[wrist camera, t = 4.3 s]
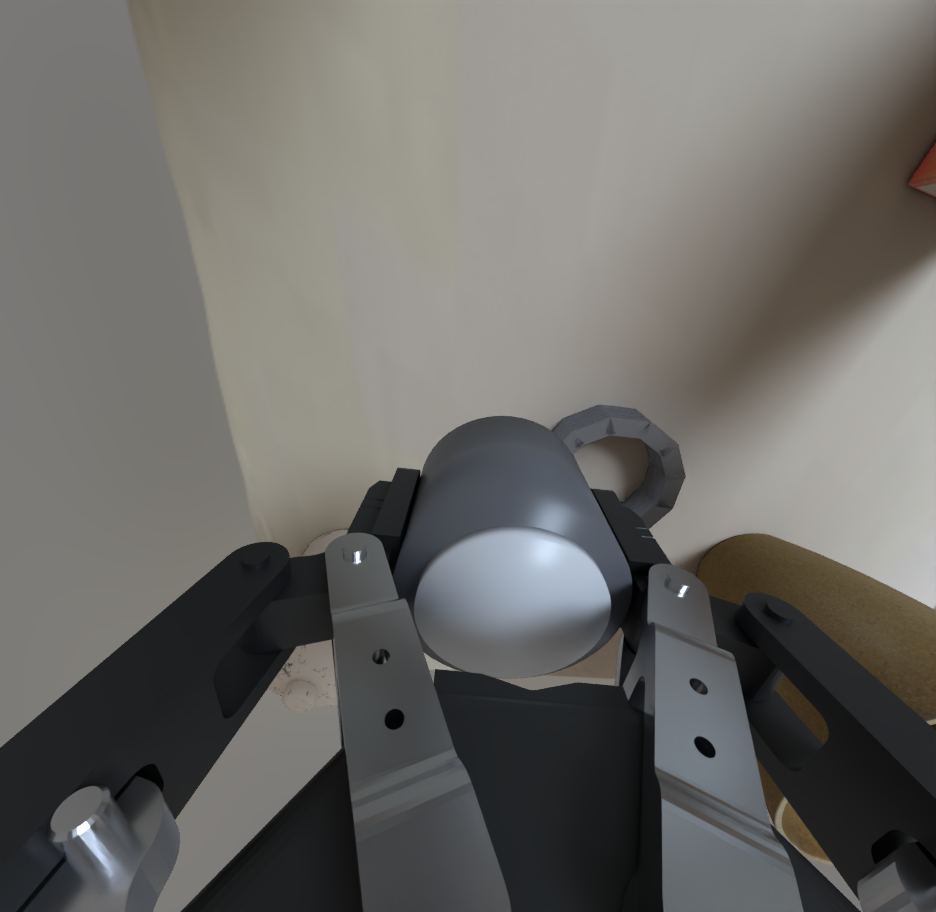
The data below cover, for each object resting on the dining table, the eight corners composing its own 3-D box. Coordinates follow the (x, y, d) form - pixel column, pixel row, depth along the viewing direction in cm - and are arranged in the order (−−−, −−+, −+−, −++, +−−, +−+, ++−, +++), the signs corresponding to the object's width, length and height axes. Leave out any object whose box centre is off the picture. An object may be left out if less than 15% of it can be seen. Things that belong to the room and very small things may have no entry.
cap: (424, 406, 12) (389, 498, 7) (598, 425, 12) (676, 527, 7) (416, 545, 15) (385, 682, 10) (561, 560, 15) (601, 702, 10)
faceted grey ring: (548, 399, 26) (555, 411, 24) (684, 414, 26) (705, 427, 24) (524, 515, 30) (528, 535, 28) (642, 527, 31) (656, 548, 28)
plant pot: (702, 474, 28) (934, 678, 14) (876, 517, 30) (1255, 746, 15) (619, 613, 35) (721, 855, 20) (766, 645, 36) (962, 893, 21)
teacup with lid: (307, 602, 35) (234, 743, 24) (295, 520, 31) (202, 645, 21) (437, 612, 35) (420, 756, 25) (442, 531, 31) (424, 661, 21)
